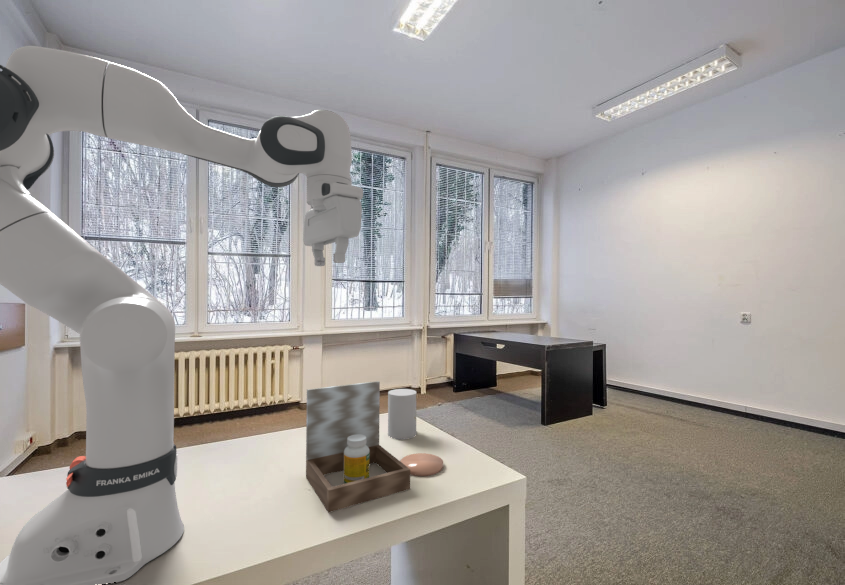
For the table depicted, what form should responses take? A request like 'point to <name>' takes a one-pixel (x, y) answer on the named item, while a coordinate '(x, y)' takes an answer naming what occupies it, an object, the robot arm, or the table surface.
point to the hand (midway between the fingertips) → (329, 264)
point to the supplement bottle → (356, 459)
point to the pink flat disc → (423, 464)
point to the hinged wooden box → (327, 439)
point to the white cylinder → (402, 413)
